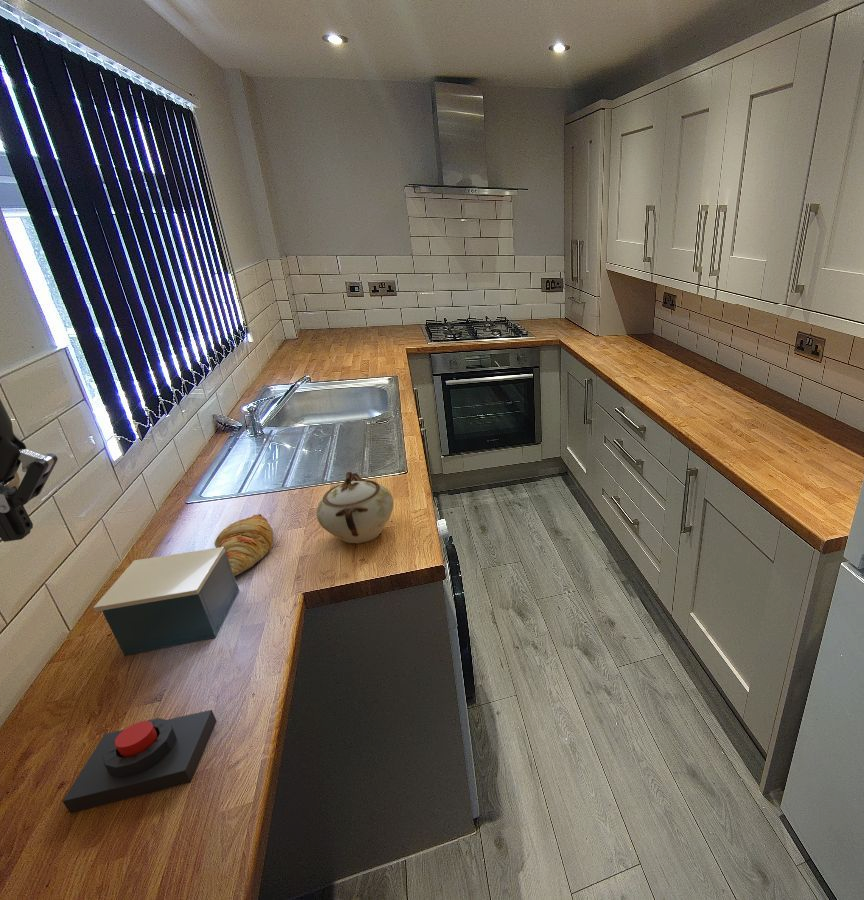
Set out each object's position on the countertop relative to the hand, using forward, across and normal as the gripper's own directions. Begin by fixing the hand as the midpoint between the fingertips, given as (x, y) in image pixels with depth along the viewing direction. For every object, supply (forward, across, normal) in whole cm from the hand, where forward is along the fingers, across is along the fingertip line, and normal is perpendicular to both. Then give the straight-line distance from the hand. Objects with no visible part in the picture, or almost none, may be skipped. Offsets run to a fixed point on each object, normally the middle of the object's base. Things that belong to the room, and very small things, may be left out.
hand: (18, 537), depth 61 cm
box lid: (+20, +2, +19) cm, 28 cm away
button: (+25, +8, -10) cm, 28 cm away
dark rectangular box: (+29, +2, +19) cm, 35 cm away
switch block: (+29, +8, -10) cm, 32 cm away
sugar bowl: (+29, +28, +39) cm, 56 cm away
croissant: (+29, +6, +39) cm, 49 cm away
